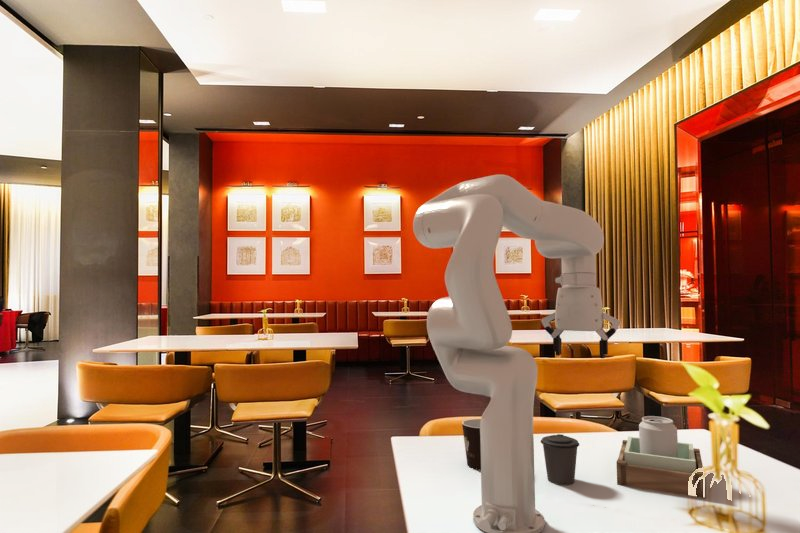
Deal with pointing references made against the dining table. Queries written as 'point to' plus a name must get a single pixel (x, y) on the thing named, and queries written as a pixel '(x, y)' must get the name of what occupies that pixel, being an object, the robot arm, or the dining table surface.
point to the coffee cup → (560, 458)
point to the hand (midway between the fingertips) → (580, 356)
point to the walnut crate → (658, 476)
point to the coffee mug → (472, 442)
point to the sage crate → (661, 457)
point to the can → (658, 436)
